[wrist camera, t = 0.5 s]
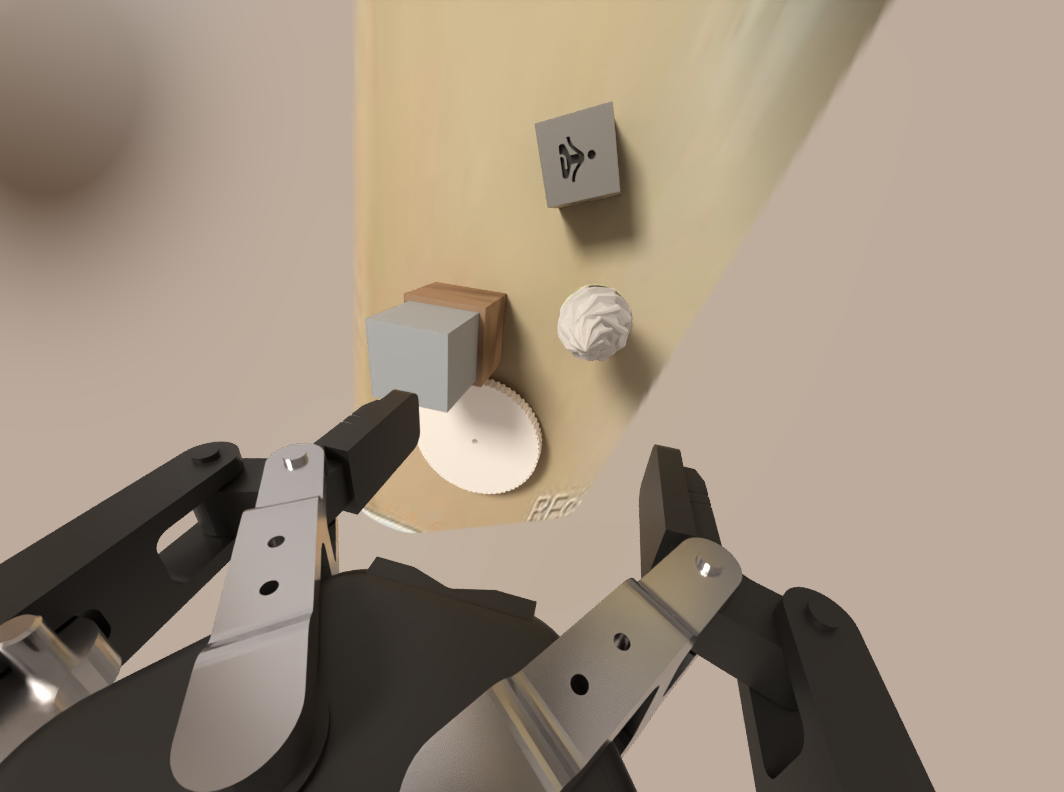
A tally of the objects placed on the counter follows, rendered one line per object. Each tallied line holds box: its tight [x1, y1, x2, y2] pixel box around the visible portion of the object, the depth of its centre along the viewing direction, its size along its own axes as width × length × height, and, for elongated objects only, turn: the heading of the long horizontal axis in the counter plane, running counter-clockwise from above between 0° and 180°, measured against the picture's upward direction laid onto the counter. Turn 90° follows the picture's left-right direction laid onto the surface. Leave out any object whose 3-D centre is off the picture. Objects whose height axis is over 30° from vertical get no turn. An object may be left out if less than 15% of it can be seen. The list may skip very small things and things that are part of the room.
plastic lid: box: [418, 378, 542, 494], centre depth 42 cm, size 14×14×2 cm
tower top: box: [365, 301, 479, 413], centre depth 29 cm, size 6×6×6 cm
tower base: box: [404, 282, 506, 387], centre depth 35 cm, size 7×7×6 cm
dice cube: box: [535, 102, 621, 208], centre depth 27 cm, size 5×5×5 cm
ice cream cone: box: [557, 284, 632, 361], centre depth 27 cm, size 5×5×15 cm
